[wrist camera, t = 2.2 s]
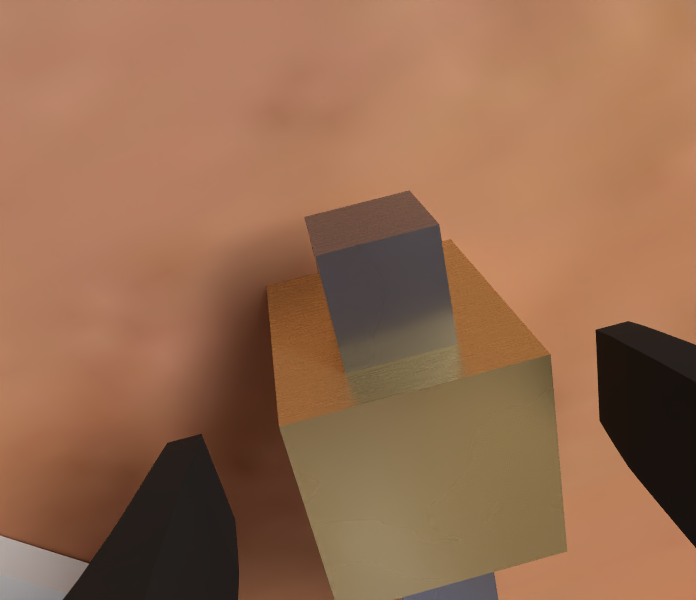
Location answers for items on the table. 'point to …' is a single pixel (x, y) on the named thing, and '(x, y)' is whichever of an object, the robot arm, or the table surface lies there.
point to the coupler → (413, 411)
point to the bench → (35, 572)
